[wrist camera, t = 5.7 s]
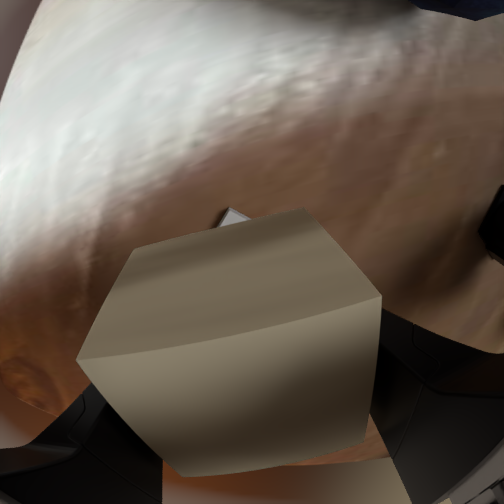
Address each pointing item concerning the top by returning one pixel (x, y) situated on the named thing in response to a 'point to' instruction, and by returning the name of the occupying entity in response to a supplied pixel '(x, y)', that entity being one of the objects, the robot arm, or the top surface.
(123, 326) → the maple block
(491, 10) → the decorative orb
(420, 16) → the top surface
